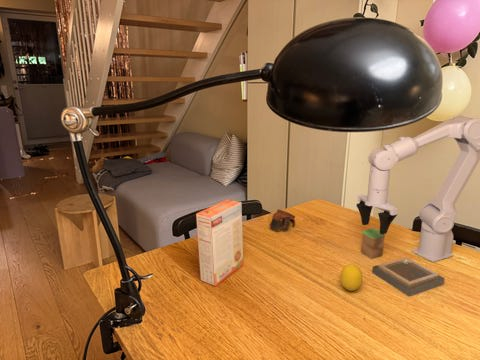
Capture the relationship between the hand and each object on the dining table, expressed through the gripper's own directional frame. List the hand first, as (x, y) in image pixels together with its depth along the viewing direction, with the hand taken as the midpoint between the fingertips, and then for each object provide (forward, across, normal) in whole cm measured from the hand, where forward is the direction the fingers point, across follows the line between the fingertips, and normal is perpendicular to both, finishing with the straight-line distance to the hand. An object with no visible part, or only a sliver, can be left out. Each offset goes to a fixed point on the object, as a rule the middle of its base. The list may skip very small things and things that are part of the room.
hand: (374, 228), depth 109 cm
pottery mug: (+9, -30, -15) cm, 35 cm away
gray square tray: (+9, +15, -1) cm, 18 cm away
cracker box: (+9, -10, -48) cm, 50 cm away
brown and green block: (+9, 0, 0) cm, 9 cm away
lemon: (+9, +13, -20) cm, 25 cm away
